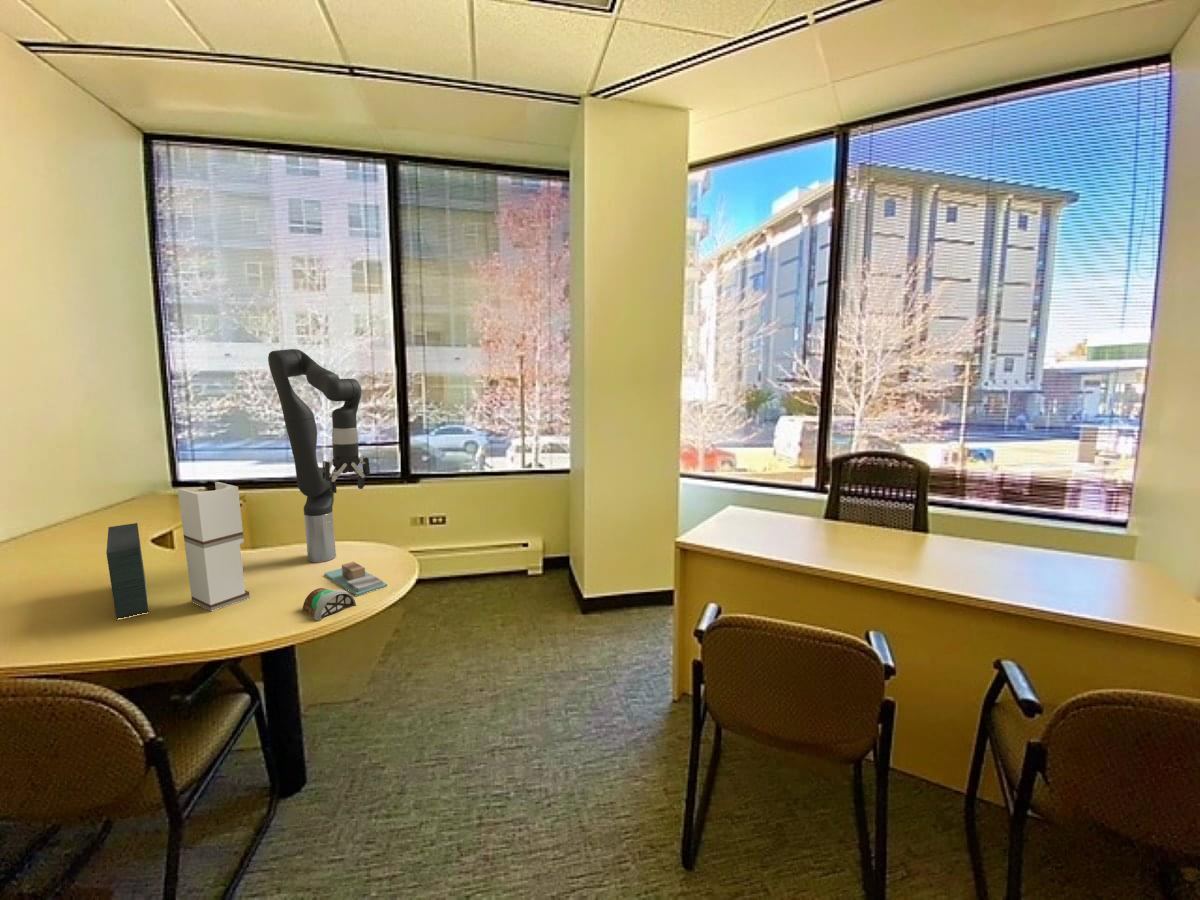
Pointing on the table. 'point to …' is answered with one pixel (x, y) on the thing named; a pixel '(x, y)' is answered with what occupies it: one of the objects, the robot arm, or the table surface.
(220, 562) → the white banded pillar
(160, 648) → the table surface
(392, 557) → the table surface
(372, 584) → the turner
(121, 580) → the dark grey upright block
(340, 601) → the food container
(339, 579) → the mat
